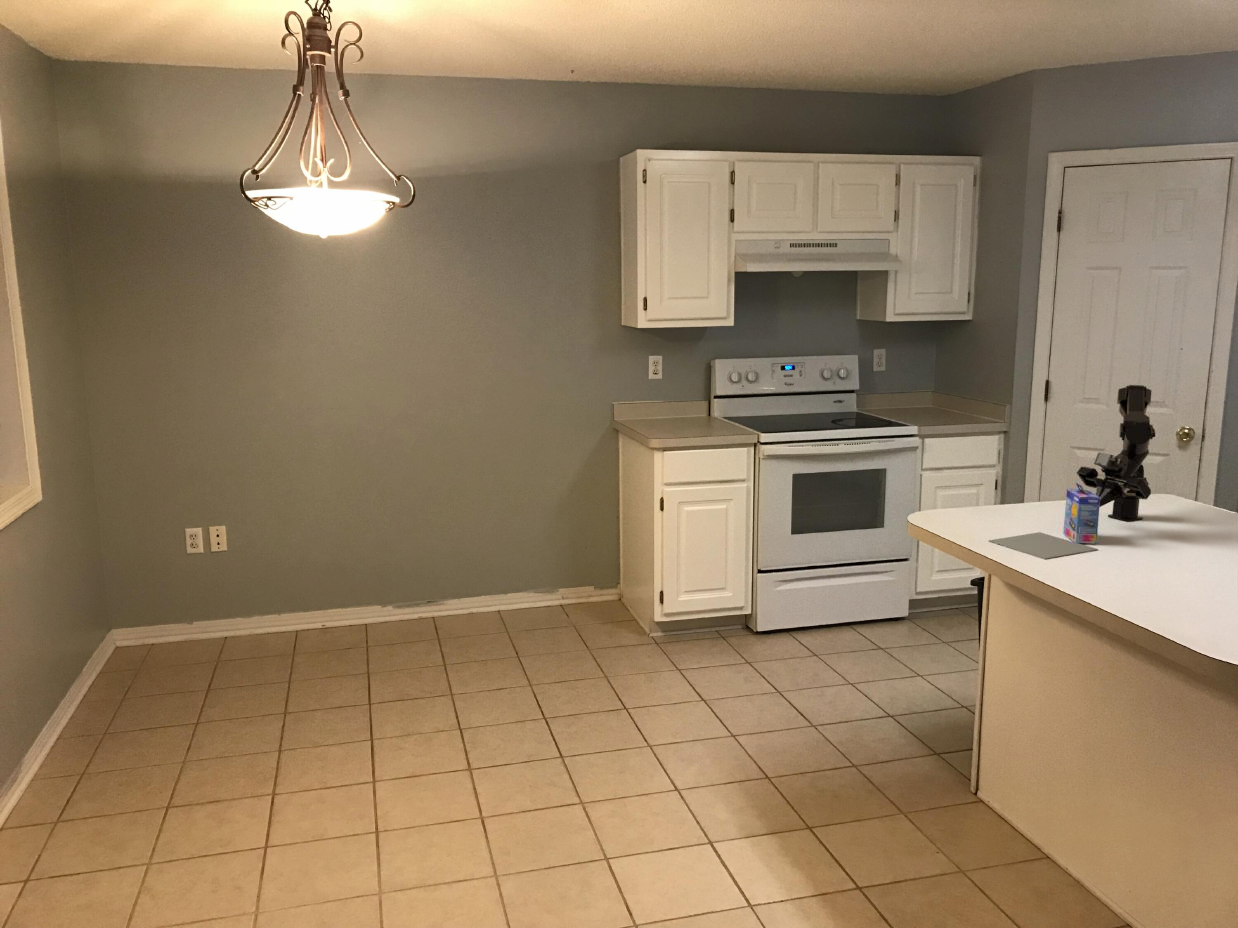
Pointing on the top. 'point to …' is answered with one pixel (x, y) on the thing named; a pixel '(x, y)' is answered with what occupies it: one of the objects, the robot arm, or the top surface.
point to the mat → (1043, 545)
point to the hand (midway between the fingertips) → (1095, 506)
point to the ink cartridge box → (1081, 515)
